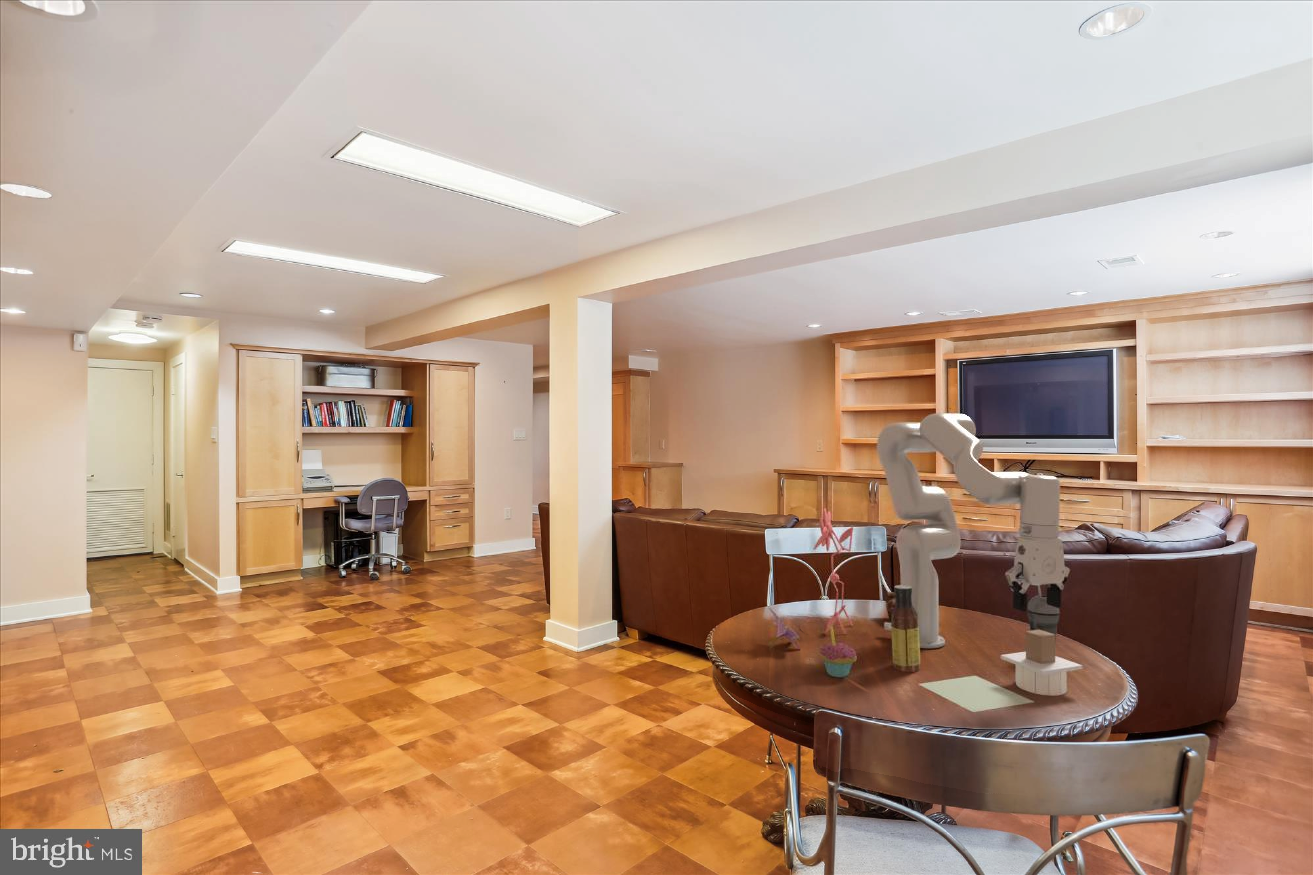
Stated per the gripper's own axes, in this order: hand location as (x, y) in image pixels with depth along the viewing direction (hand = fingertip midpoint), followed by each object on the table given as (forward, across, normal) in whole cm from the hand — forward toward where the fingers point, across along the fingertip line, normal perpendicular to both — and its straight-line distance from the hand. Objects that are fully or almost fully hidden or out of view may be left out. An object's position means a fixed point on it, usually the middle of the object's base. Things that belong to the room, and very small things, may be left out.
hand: (1037, 607), depth 146 cm
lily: (+20, -39, +42) cm, 61 cm away
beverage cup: (+18, +18, +14) cm, 30 cm away
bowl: (+18, 0, -1) cm, 18 cm away
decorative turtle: (+20, +7, +52) cm, 56 cm away
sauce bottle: (+19, -20, +18) cm, 33 cm away
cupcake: (+19, -37, +21) cm, 46 cm away
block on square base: (+12, 0, -1) cm, 12 cm away
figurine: (+20, -18, +55) cm, 61 cm away
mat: (+18, -16, +1) cm, 24 cm away
